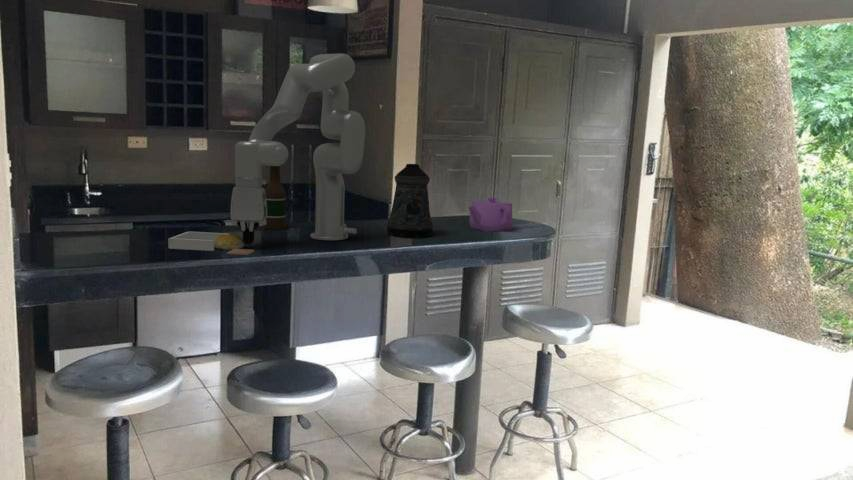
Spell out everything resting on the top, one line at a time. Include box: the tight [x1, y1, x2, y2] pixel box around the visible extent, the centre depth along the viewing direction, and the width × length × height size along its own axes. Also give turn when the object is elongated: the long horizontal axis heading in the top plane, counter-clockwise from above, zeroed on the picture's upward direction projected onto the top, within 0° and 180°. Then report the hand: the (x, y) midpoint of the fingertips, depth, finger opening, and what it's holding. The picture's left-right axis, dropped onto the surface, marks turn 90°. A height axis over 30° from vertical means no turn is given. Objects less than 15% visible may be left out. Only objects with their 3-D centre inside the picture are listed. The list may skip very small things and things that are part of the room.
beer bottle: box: [263, 165, 287, 231], centre depth 250 cm, size 8×8×24 cm
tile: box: [226, 248, 255, 256], centre depth 204 cm, size 6×6×1 cm
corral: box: [167, 231, 231, 252], centre depth 213 cm, size 14×14×3 cm
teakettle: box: [468, 196, 513, 233], centre depth 272 cm, size 17×17×12 cm
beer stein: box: [386, 163, 434, 239], centre depth 249 cm, size 16×19×25 cm
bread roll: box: [214, 234, 245, 251], centre depth 212 cm, size 8×9×4 cm
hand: (248, 243), depth 212 cm, fingers closed
